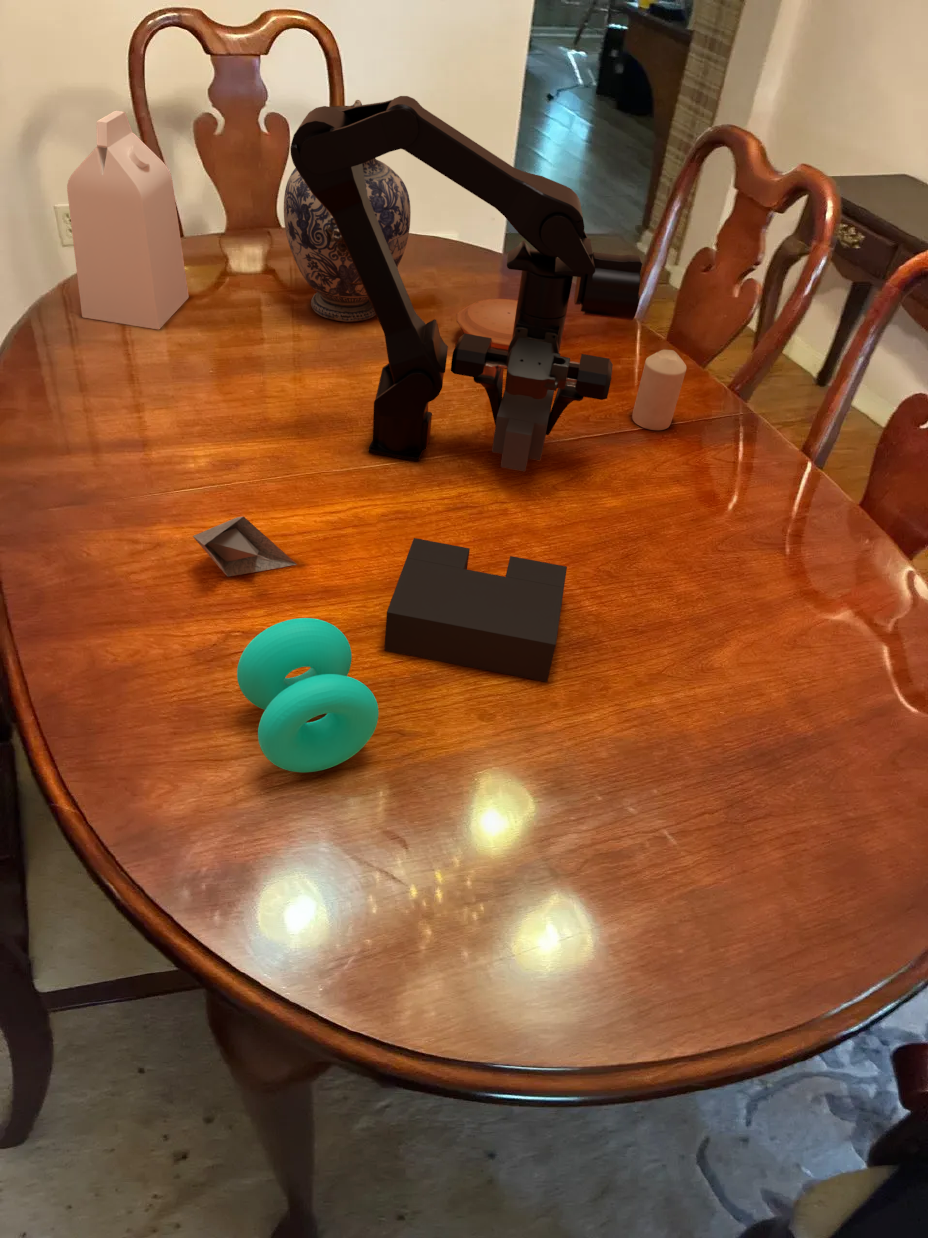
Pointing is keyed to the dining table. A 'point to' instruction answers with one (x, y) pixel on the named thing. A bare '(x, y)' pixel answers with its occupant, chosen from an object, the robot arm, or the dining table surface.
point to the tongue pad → (521, 429)
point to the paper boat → (241, 548)
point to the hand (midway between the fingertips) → (522, 428)
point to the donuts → (306, 695)
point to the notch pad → (476, 611)
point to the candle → (659, 390)
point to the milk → (126, 231)
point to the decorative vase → (325, 248)
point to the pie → (490, 321)
